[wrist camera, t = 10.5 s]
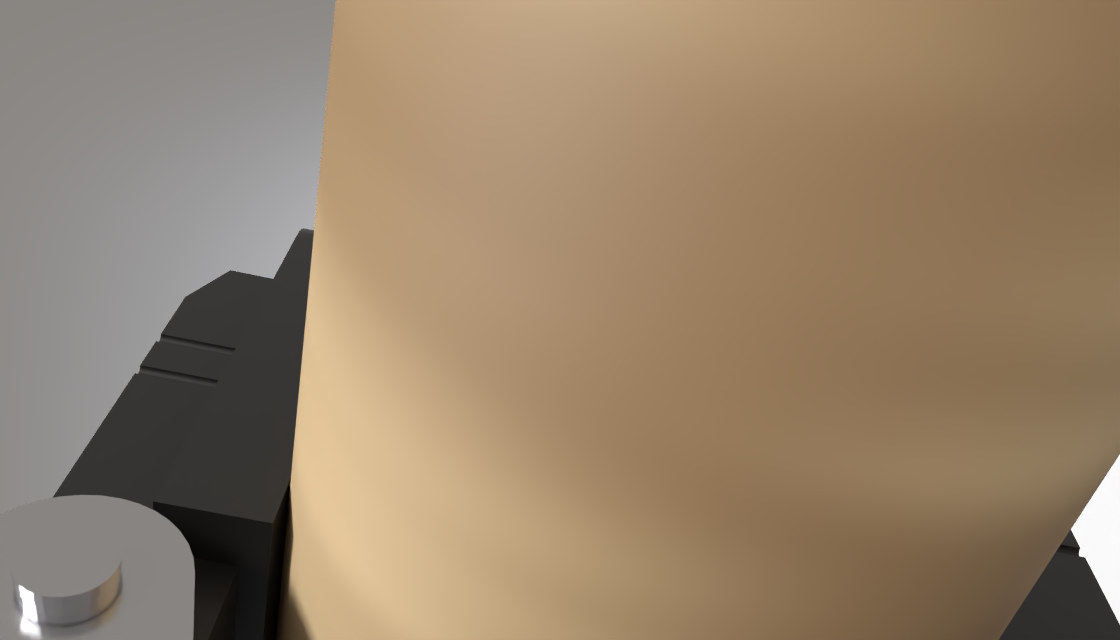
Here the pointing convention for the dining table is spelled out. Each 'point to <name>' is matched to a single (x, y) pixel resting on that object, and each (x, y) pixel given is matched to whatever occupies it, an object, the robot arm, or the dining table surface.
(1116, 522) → the dining table surface
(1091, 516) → the dining table surface
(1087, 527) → the dining table surface
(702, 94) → the peg
